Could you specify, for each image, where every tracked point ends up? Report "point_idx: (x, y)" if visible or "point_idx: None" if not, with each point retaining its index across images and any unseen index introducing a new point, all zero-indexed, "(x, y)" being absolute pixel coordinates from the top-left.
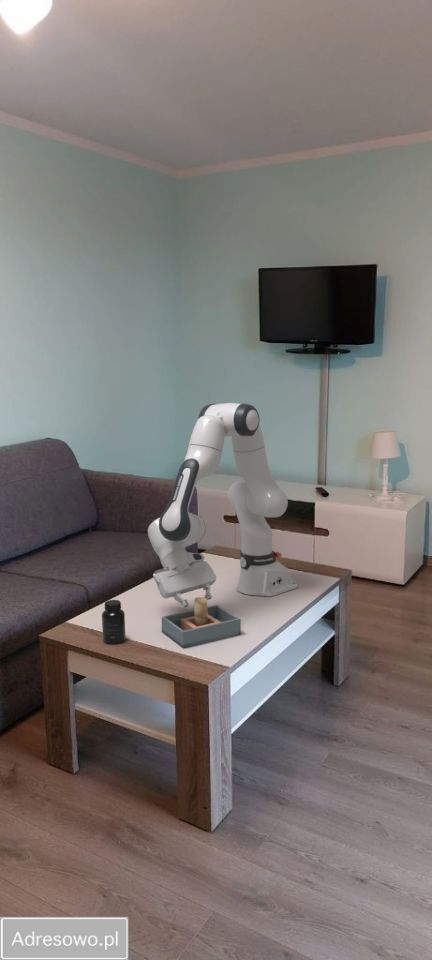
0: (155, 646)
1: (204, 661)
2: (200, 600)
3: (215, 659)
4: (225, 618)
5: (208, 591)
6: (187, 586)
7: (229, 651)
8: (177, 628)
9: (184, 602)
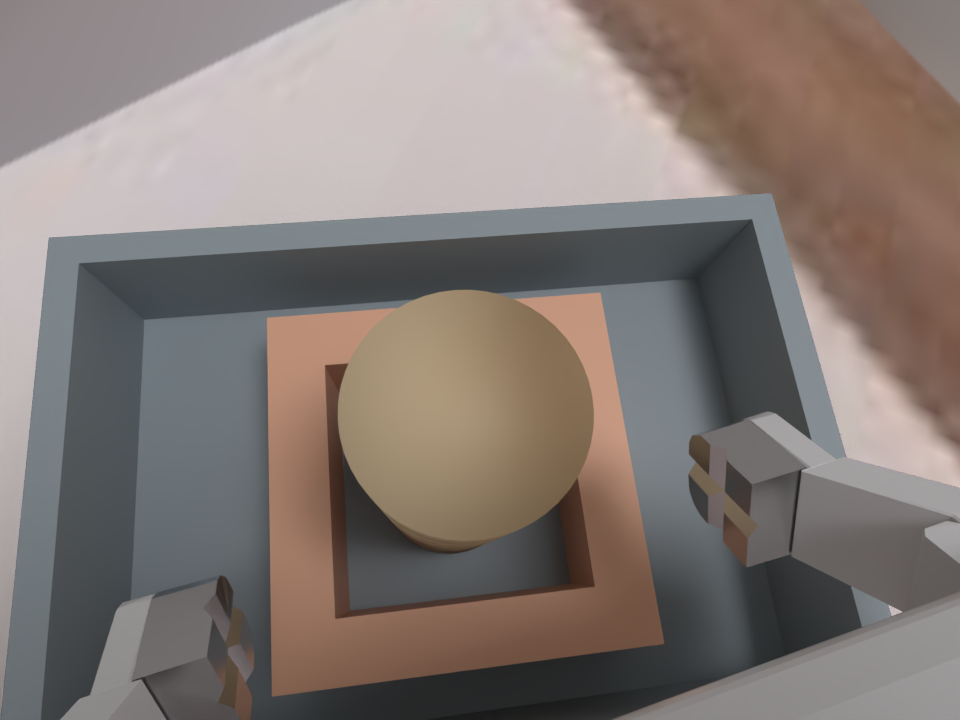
0: (906, 395)
1: (620, 34)
2: (497, 357)
3: (540, 28)
4: (104, 539)
5: (126, 698)
6: (811, 692)
7: (394, 85)
8: (800, 297)
9: (787, 431)
